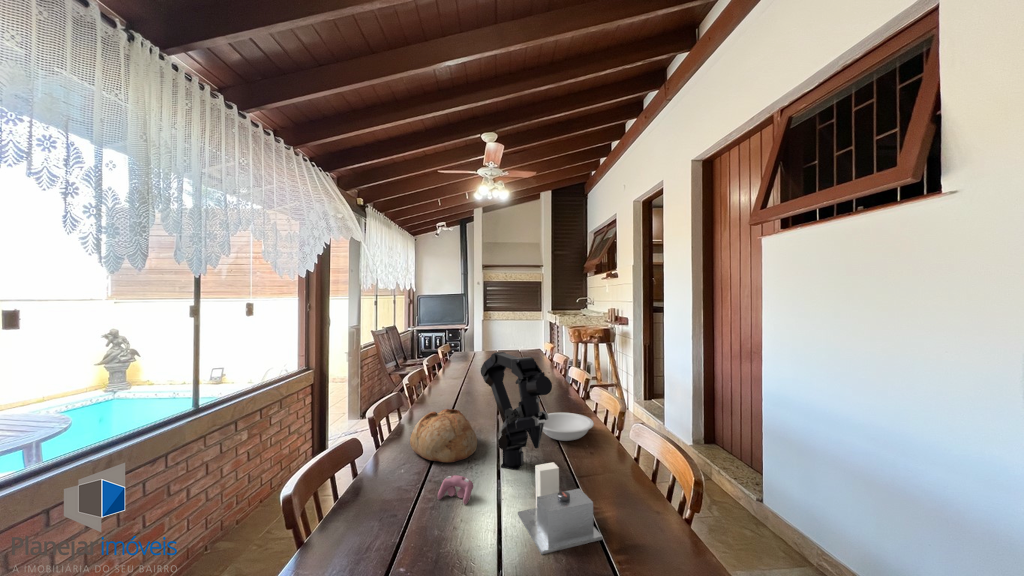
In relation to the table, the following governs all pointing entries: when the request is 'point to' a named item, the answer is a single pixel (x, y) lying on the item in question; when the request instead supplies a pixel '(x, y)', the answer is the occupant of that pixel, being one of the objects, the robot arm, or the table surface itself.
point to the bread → (444, 436)
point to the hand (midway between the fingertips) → (536, 448)
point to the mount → (561, 521)
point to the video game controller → (450, 485)
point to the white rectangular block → (546, 479)
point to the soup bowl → (566, 426)
